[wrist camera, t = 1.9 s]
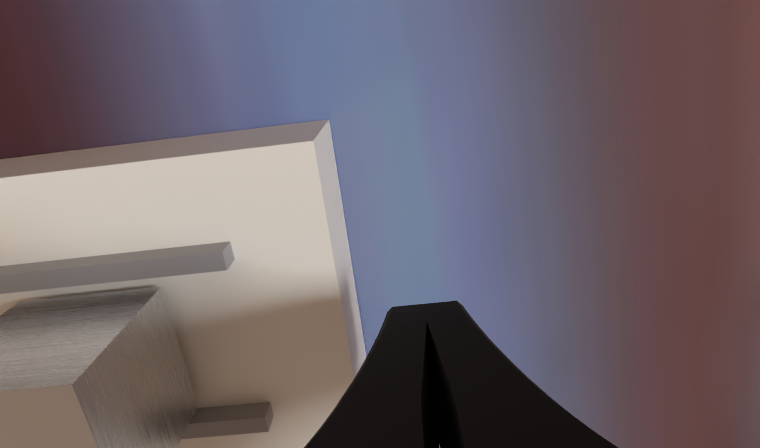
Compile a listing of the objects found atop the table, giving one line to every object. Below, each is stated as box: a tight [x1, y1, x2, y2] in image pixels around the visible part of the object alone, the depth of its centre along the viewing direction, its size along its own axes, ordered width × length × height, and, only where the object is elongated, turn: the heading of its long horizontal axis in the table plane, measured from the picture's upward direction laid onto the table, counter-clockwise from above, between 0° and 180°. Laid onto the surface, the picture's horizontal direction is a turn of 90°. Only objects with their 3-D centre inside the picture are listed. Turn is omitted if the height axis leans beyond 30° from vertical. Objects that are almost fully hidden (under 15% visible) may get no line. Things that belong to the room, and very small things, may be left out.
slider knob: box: [0, 287, 198, 448], centre depth 9 cm, size 3×3×3 cm
